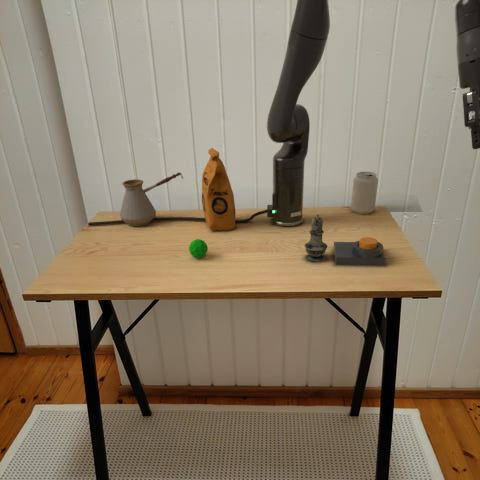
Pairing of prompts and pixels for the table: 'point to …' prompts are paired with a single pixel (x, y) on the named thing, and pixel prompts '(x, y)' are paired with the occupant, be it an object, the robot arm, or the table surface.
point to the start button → (368, 243)
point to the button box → (358, 254)
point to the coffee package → (217, 195)
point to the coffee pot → (139, 202)
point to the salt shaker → (316, 242)
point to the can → (364, 192)
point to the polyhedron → (198, 248)
